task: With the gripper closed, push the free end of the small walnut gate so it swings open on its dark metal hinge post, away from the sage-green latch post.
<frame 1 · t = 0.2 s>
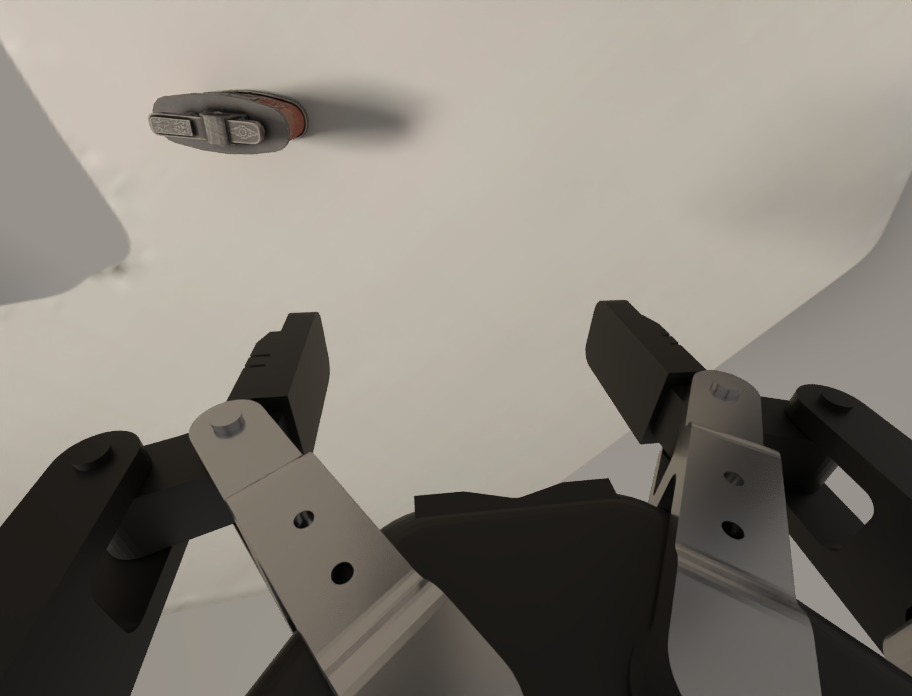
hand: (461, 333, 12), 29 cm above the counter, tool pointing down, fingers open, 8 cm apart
lighter: (256, 115, 32), on the counter
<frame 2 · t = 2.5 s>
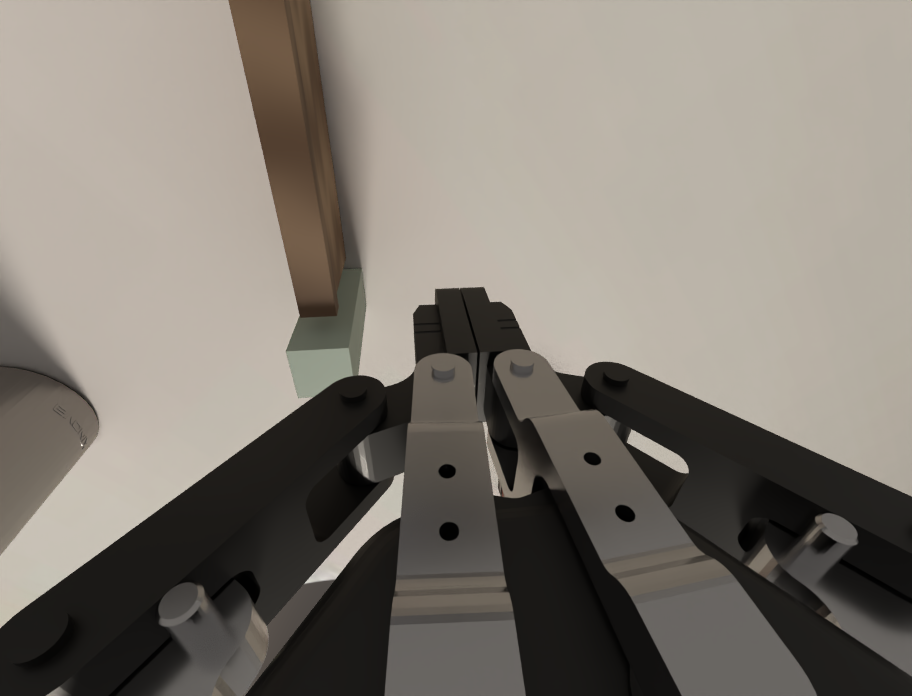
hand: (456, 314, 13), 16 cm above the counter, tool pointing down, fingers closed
gate: (300, 118, 19), point 5 cm above the counter, hinge at 0.0°
latch post: (342, 288, 29), on the counter
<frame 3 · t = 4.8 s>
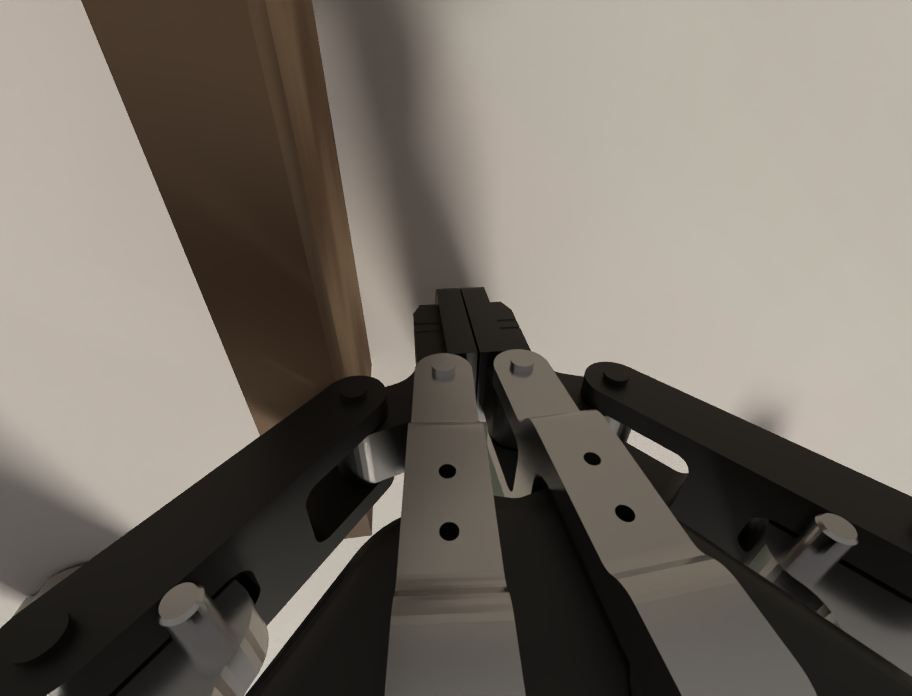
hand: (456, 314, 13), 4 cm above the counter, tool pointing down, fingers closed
gate: (292, 179, 10), point 5 cm above the counter, hinge at 14.2°, touching gripper
latch post: (468, 381, 20), on the counter
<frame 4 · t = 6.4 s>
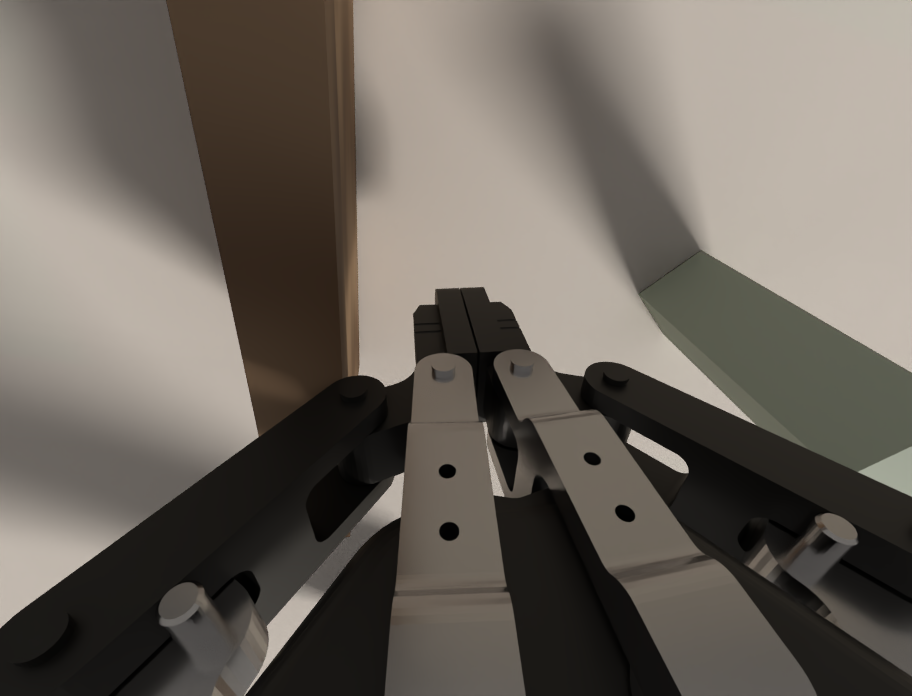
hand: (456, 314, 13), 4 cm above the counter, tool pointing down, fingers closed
gate: (316, 176, 10), point 4 cm above the counter, hinge at 46.6°, touching gripper
latch post: (681, 295, 18), on the counter
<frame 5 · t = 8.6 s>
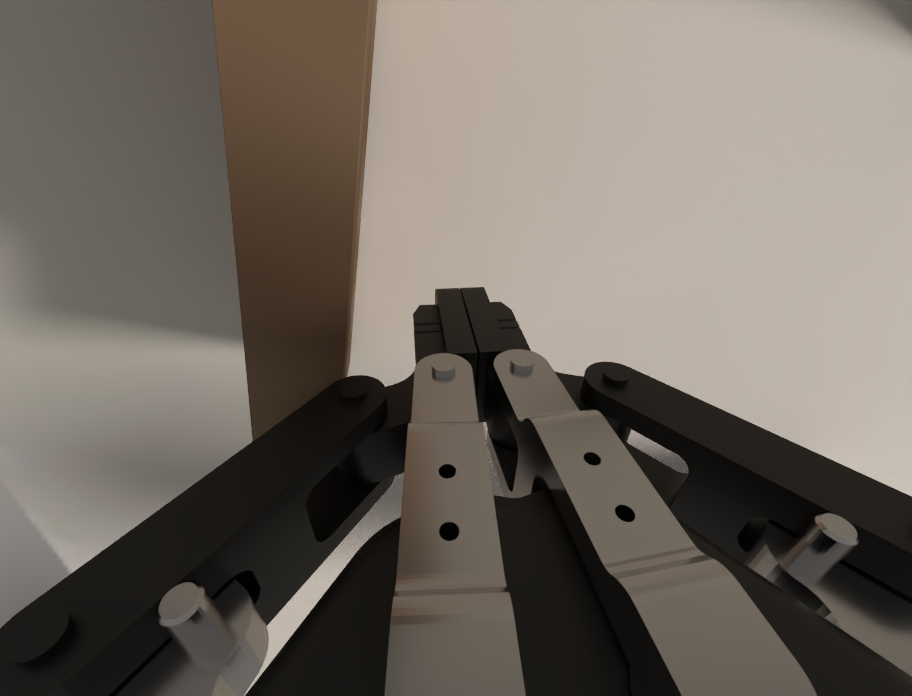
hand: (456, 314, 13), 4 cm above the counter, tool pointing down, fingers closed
gate: (329, 171, 10), point 5 cm above the counter, hinge at 85.9°, touching gripper, hand
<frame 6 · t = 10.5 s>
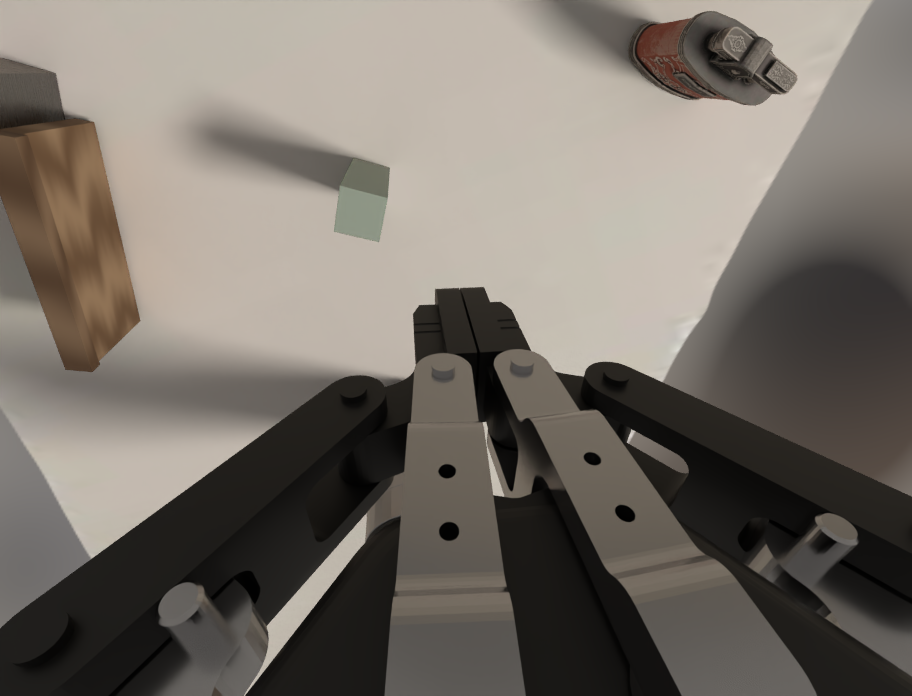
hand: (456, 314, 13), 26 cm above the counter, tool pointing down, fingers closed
hinge post: (34, 90, 29), on the counter
gate: (81, 250, 31), point 4 cm above the counter, hinge at 86.0°
lighter: (669, 63, 33), on the counter
latch post: (368, 181, 35), on the counter
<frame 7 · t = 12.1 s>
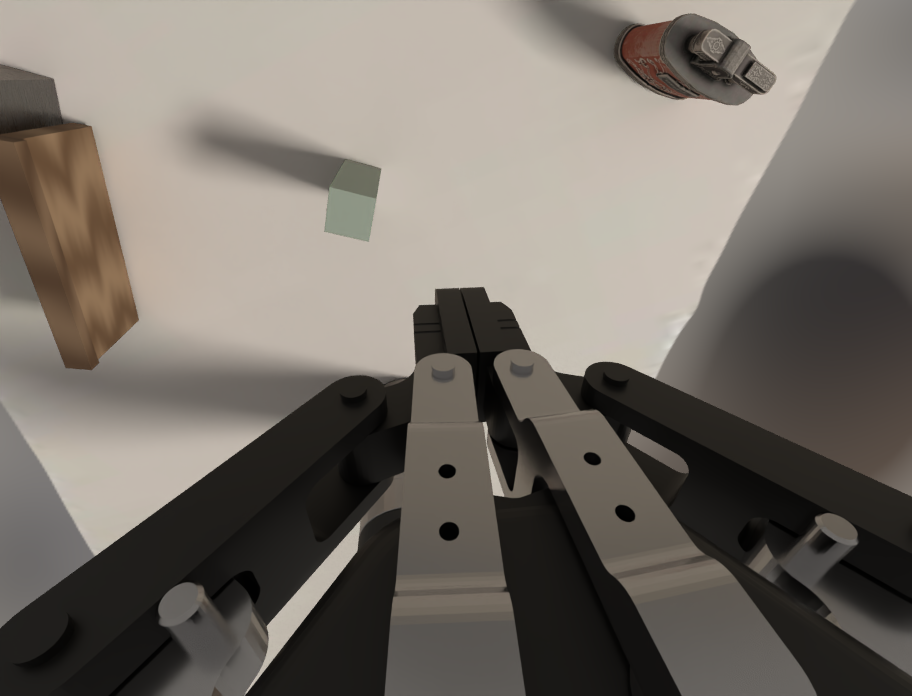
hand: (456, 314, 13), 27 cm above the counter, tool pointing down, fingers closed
hinge post: (33, 96, 29), on the counter
gate: (80, 251, 32), point 4 cm above the counter, hinge at 86.0°
lighter: (654, 63, 33), on the counter
latch post: (360, 181, 35), on the counter
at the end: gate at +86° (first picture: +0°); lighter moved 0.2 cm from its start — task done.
